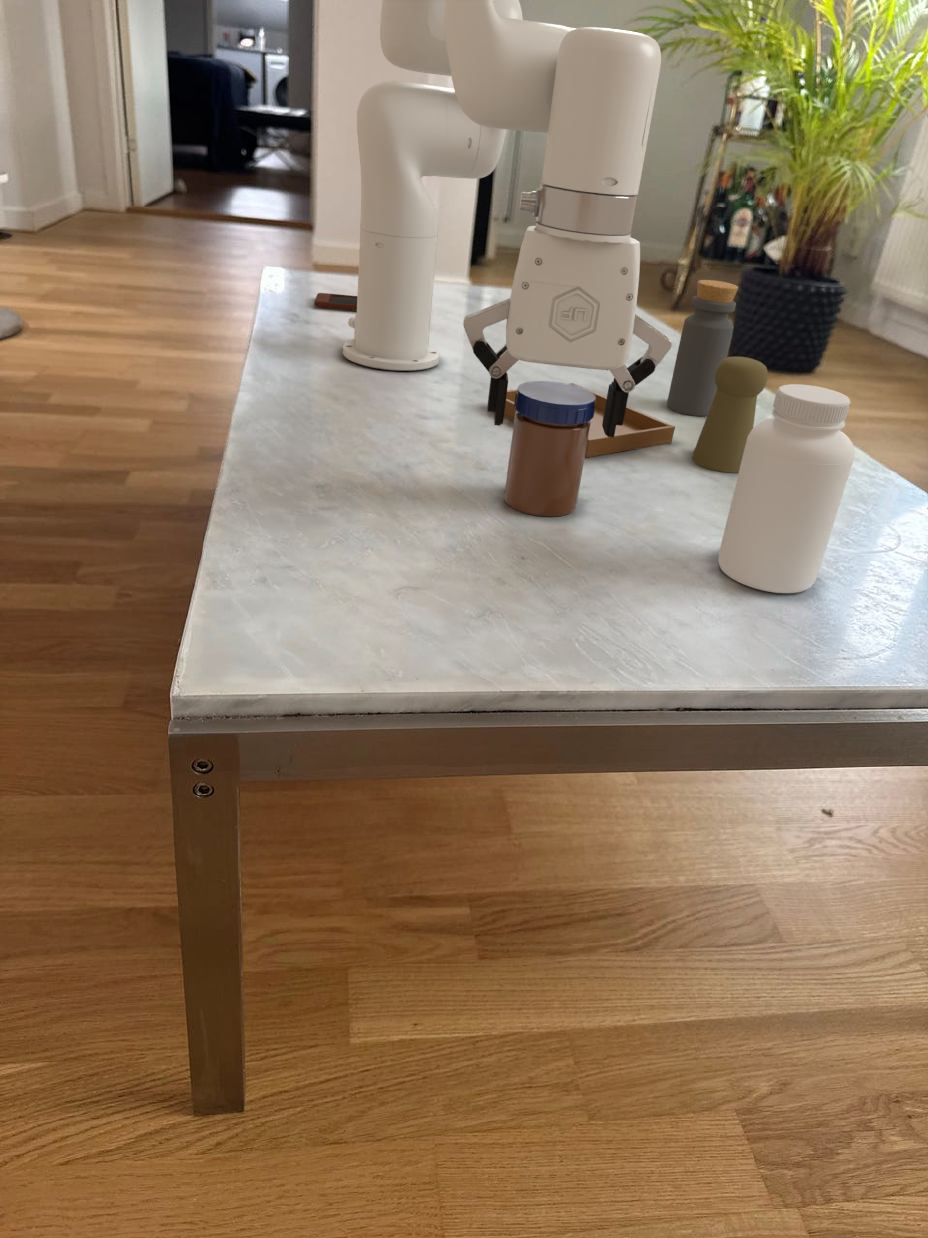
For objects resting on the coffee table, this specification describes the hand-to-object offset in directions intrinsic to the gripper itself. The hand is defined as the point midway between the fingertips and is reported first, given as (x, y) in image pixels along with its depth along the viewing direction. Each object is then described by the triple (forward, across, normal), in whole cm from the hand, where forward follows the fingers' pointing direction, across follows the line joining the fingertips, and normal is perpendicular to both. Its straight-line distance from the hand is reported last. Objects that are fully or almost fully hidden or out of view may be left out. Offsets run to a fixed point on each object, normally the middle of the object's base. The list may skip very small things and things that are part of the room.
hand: (553, 426), depth 82 cm
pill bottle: (+7, +18, -10) cm, 22 cm away
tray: (+7, +6, +24) cm, 26 cm away
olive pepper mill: (+7, +20, +16) cm, 27 cm away
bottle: (+7, +21, +36) cm, 42 cm away
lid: (-2, 0, 0) cm, 3 cm away
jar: (+7, 0, 0) cm, 7 cm away
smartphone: (+7, -24, +73) cm, 77 cm away
